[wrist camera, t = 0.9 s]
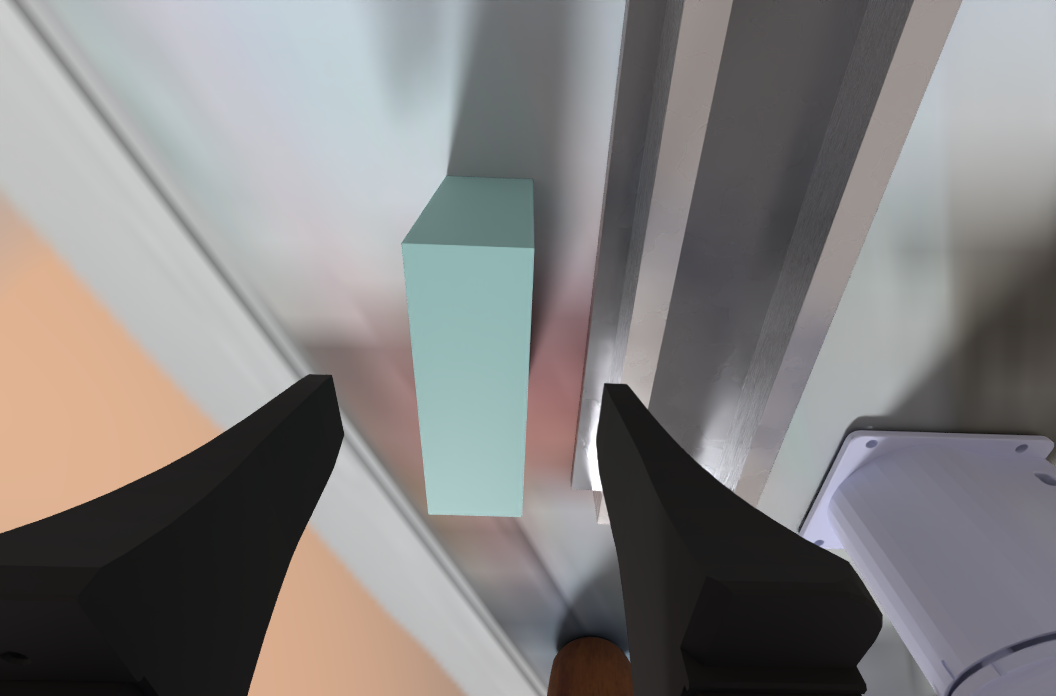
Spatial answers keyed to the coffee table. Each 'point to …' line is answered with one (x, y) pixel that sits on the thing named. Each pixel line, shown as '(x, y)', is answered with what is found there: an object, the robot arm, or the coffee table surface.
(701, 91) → the track
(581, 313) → the coffee table surface
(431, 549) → the coffee table surface
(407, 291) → the door panel
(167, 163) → the coffee table surface
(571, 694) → the wooden figurine
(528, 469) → the coffee table surface
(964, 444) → the robot arm
